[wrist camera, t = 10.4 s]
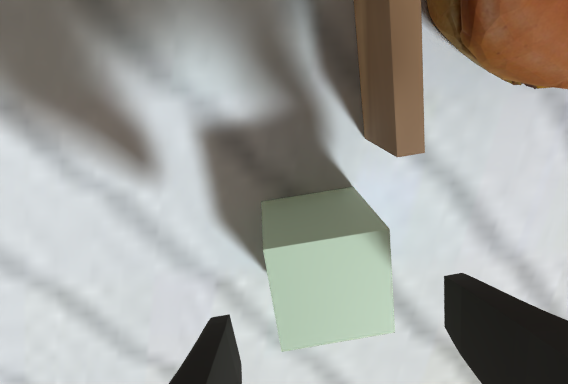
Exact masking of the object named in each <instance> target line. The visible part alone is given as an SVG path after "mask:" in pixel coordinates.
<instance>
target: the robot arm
mask: <svg viewBox="0 0 568 384" xmlns="http://www.w3.org/2000/svg"><path fill="white" fill-rule="evenodd" d="M444 312H445V328H446V330H447V332H448V334H449V335H450V337H451V339H452V341H453V343H454V344H455V346H456V348H457V349H458V351H459V353H460V354H461V356H462V357H463V359H464V360H465V361H466V363H467V364H468V366H469V367H470V368H471V370H472V371H473V372H474V374H475V375H476V376H477V378H478V379H479V380H480V382H481V383H482V384H568V321H567V320H565V319H562V318H560V317H558V316H555V315H553V314H550V313H548V312H546V311H543V310H541V309H539V308H537V307H534V306H532V305H530V304H528V303H526V302H523V301H521V300H519V299H517V298H515V297H513V296H511V295H509V294H506V293H504V292H502V291H500V290H498V289H496V288H494V287H492V286H490V285H488V284H486V283H484V282H482V281H479V280H477V279H475V278H473V277H471V276H469V275H466V274H464V273H459V274H453V275H448V276H444ZM169 384H242V372H241V360H240V356H239V352H238V348H237V344H236V340H235V336H234V331H233V327H232V323H231V319H230V315H224V316H218V317H212V318H210V320H209V321H208V323H207V324H206V326H205V328H204V329H203V331H202V333H201V335H200V336H199V338H198V340H197V341H196V343H195V345H194V346H193V348H192V350H191V351H190V353H189V354H188V356H187V357H186V359H185V361H184V362H183V364H182V365H181V367H180V368H179V370H178V371H177V373H176V374H175V376H174V377H173V378H172V380H171V381H170V383H169Z"/></svg>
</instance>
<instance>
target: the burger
mask: <svg viewBox="0 0 568 384" xmlns="http://www.w3.org/2000/svg"><path fill="white" fill-rule="evenodd" d="M427 5H428V10H429V14H430V17H431V19H432V20H433V22H434V24H435V25H436V26H437V28H438V29H439V30H440V32H441V33H442V34H443V35H444V36H445V37H446V38H447V39H448V40H449V41H450V42H451V43H452V44H453V45H454V46H455V47H456V48H457V49H458V50H459V51H460V52H461V53H463V54H464V55H465V56H466V57H468V58H469V59H470V60H471V61H473V62H474V63H476V64H477V65H479V66H481V67H482V68H484V69H485V70H487V71H488V72H490V73H492V74H494V75H495V76H497V77H499V78H501V79H502V80H504V81H506V82H509V83H511V84H513V85H521V84H525V85H526V86H529V87H533V88H534V89H535V88H537V89H538V88H550V87H555V88H562V89H568V0H427Z"/></svg>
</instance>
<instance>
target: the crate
mask: <svg viewBox="0 0 568 384" xmlns="http://www.w3.org/2000/svg"><path fill="white" fill-rule="evenodd" d="M354 11H355V23H356V36H357V49H358V61H359V74H360V87H361V99H362V112H363V124H364V137H365V139H367V140H368V141H370V142H372V143H373V144H375V145H377V146H379V147H380V148H382V149H384V150H385V151H387V152H389V153H391V154H392V155H394V156H396V157H402V156H408V155H414V154H420V153H425V145H424V104H423V63H422V22H421V0H354Z"/></svg>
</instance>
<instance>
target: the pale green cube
mask: <svg viewBox="0 0 568 384" xmlns="http://www.w3.org/2000/svg"><path fill="white" fill-rule="evenodd" d="M261 210H262V238H263V253H264V258H265V264H266V269H267V275H268V280H269V285H270V291H271V296H272V302H273V307H274V313H275V318H276V324H277V329H278V334H279V340H280V345H281V351H282V352H284V351H290V350H296V349H302V348H307V347H313V346H319V345H325V344H331V343H336V342H342V341H348V340H354V339H360V338H366V337H371V336H377V335H383V334H389V333H395V325H394V306H393V287H392V268H391V249H390V230H389V228H388V227H387V226H386V224H385V223H384V222H383V221H382V220H381V219H380V217H379V216H378V215H377V214H376V213H375V212H374V210H373V209H372V208H371V207H370V206H369V205H368V203H367V202H366V201H365V200H364V199H363V198H362V196H361V195H360V194H359V193H358V192H357V191H356V190H355V188H354V187H349V188H342V189H336V190H330V191H324V192H318V193H311V194H305V195H299V196H293V197H287V198H281V199H274V200H268V201H262V202H261Z"/></svg>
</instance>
